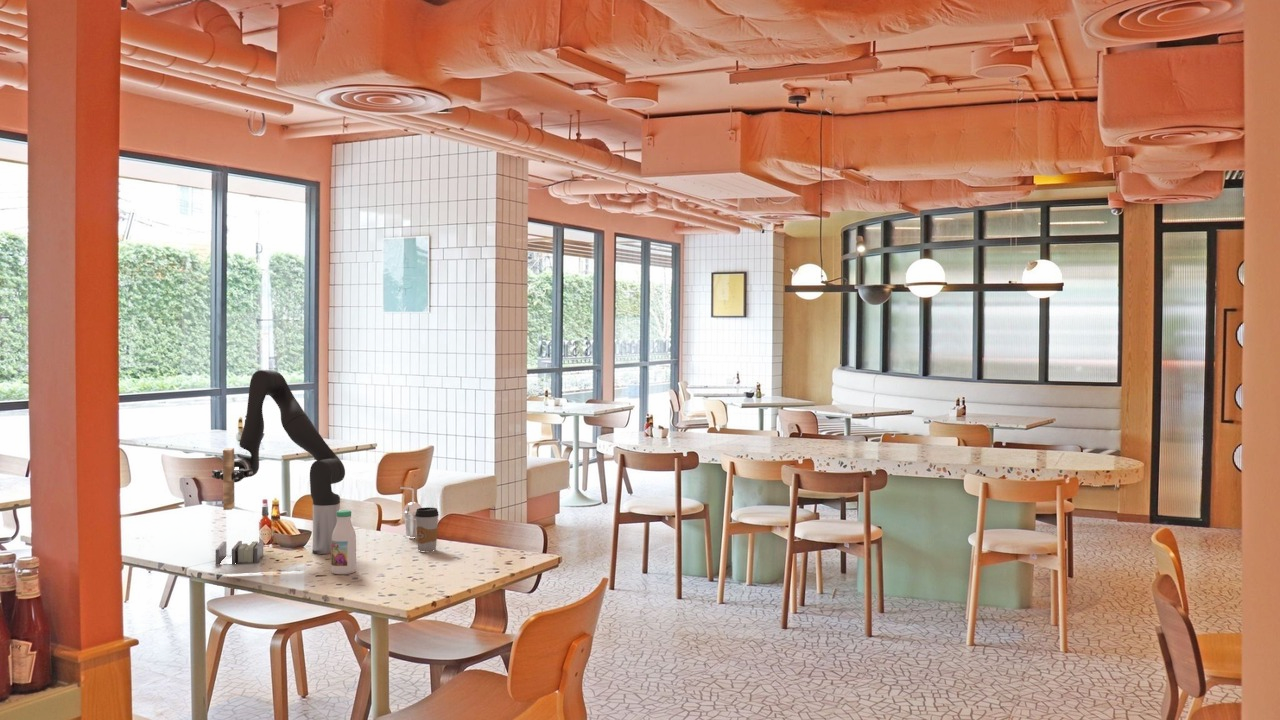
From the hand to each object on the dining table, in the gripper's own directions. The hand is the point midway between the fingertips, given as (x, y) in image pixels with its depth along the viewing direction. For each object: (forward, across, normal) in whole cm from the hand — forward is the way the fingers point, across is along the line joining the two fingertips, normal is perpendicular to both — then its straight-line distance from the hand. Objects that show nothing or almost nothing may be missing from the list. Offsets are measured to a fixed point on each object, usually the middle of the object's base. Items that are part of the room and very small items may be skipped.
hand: (227, 476), depth 324 cm
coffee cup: (-10, +65, +30) cm, 73 cm away
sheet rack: (-3, +3, +30) cm, 30 cm away
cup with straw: (-35, +60, +30) cm, 76 cm away
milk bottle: (+19, +38, +30) cm, 52 cm away
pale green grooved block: (-3, +6, +29) cm, 29 cm away
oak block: (-3, 0, +11) cm, 11 cm away
